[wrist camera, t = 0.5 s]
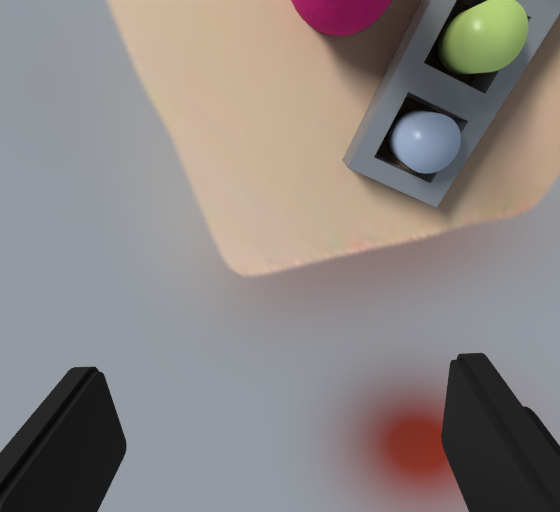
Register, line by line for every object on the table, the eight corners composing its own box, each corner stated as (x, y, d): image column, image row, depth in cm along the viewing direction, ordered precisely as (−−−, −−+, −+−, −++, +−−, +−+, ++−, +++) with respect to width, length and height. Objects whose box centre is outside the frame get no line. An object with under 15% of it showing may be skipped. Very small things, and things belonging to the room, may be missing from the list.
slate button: (405, 101, 28) (420, 103, 25) (451, 123, 29) (473, 128, 25) (379, 150, 30) (390, 159, 26) (422, 171, 30) (439, 182, 27)
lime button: (459, -1, 26) (485, -16, 22) (508, 25, 26) (542, 15, 22) (427, 59, 27) (446, 55, 23) (474, 83, 28) (500, 83, 24)
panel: (502, -166, 24) (534, -206, 20) (606, -104, 24) (651, -132, 21) (342, 159, 32) (347, 167, 29) (423, 196, 33) (436, 207, 30)
